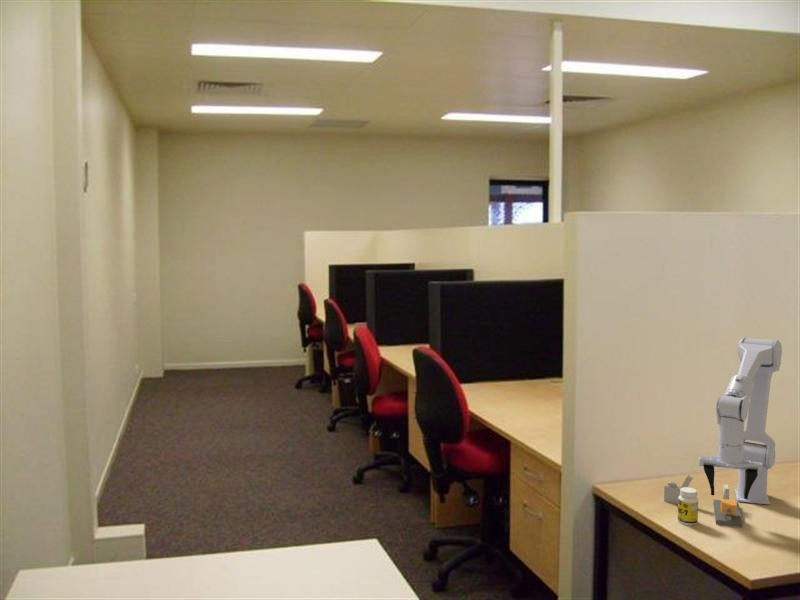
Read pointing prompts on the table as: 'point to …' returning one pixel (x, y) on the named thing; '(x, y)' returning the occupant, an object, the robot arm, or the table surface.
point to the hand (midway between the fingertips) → (729, 495)
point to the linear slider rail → (726, 518)
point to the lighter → (674, 490)
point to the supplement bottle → (688, 506)
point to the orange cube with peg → (728, 506)
